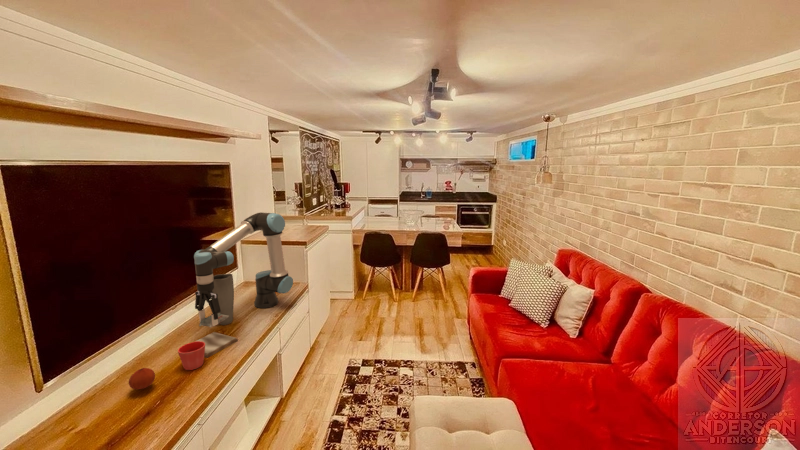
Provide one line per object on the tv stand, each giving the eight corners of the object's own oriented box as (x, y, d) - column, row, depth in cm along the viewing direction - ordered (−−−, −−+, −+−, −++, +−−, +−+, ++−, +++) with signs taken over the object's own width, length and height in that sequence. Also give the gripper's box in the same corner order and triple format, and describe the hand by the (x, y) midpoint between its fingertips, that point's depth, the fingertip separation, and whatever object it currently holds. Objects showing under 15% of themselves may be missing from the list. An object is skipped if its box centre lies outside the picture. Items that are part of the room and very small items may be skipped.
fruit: (132, 384, 140) (129, 367, 138) (157, 378, 144) (155, 361, 143) (127, 396, 132) (124, 378, 131) (154, 389, 136) (151, 372, 135)
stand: (214, 334, 183) (214, 331, 183) (237, 340, 176) (237, 337, 176) (183, 350, 167) (182, 346, 166) (207, 357, 160) (206, 354, 160)
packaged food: (229, 319, 177) (228, 311, 176) (211, 330, 166) (209, 321, 165) (217, 318, 180) (216, 310, 179) (198, 328, 169) (197, 320, 168)
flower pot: (182, 362, 156) (180, 343, 155) (208, 357, 160) (206, 339, 159) (177, 374, 147) (175, 354, 145) (205, 368, 151) (203, 349, 149)
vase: (208, 327, 192) (203, 279, 187) (221, 318, 204) (217, 273, 199) (227, 328, 190) (223, 280, 186) (240, 319, 202) (236, 273, 198)
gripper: (184, 281, 167) (188, 322, 170) (213, 287, 159) (216, 330, 162) (198, 277, 174) (201, 317, 177) (226, 282, 165) (229, 324, 169)
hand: (208, 323), depth 169 cm, fingers closed on packaged food, 9 cm apart
